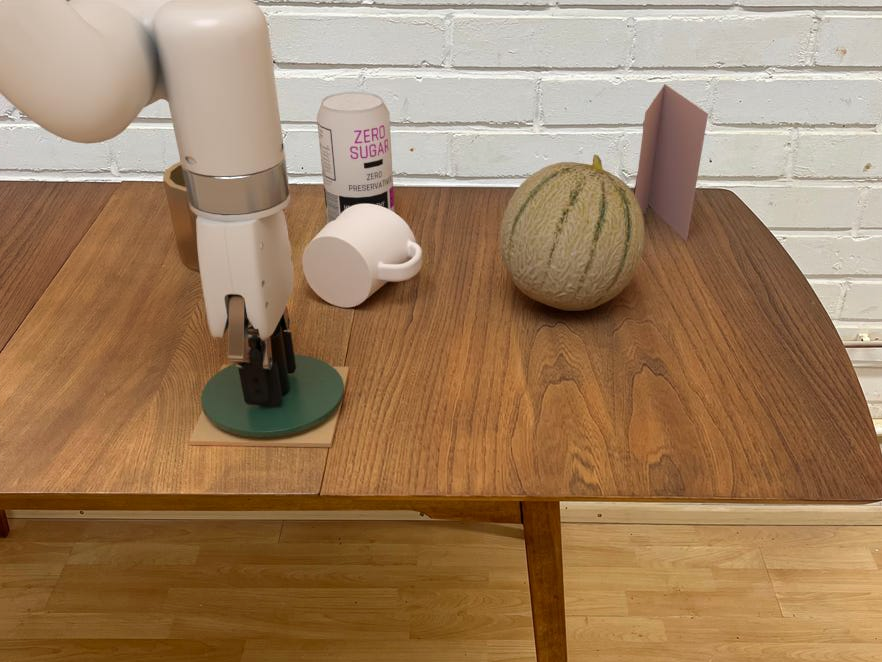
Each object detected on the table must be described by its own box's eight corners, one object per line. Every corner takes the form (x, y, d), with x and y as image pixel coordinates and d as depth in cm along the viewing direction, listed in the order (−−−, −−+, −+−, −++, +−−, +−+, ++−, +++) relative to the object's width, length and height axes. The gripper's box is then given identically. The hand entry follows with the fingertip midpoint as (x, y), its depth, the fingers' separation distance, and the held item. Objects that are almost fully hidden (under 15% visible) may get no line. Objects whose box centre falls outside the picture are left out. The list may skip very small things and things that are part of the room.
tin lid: (277, 461, 73) (264, 387, 68) (173, 411, 78) (155, 340, 73) (373, 391, 81) (367, 321, 76) (273, 350, 86) (262, 282, 81)
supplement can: (351, 209, 113) (341, 86, 104) (407, 222, 111) (402, 96, 101) (315, 233, 108) (300, 105, 98) (373, 247, 105) (364, 116, 96)
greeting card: (641, 204, 116) (657, 83, 106) (698, 212, 114) (720, 90, 104) (622, 239, 108) (637, 111, 98) (683, 249, 106) (705, 119, 96)
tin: (230, 284, 98) (215, 200, 91) (160, 257, 102) (141, 176, 96) (301, 247, 105) (291, 167, 99) (232, 224, 110) (219, 146, 104)
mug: (299, 299, 95) (290, 228, 90) (339, 263, 102) (333, 195, 97) (402, 319, 92) (399, 247, 87) (436, 280, 99) (435, 211, 94)
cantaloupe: (474, 316, 93) (476, 174, 83) (529, 260, 103) (536, 128, 93) (609, 350, 88) (627, 203, 78) (653, 287, 98) (673, 151, 88)
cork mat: (189, 445, 75) (188, 440, 75) (223, 368, 84) (222, 364, 84) (331, 447, 75) (331, 443, 75) (349, 370, 84) (349, 366, 84)
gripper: (220, 143, 73) (254, 336, 85) (149, 228, 60) (200, 442, 72) (310, 146, 73) (332, 339, 85) (257, 232, 60) (291, 447, 72)
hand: (271, 385), depth 78 cm, fingers open, 4 cm apart
